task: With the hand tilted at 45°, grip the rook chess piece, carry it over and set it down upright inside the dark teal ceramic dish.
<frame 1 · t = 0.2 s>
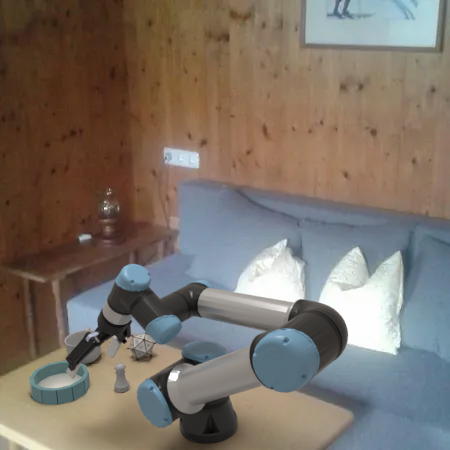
hand: (90, 364, 176), 15 cm above the table, tool tilted 35°, fingers open, 13 cm apart
rook chess piece: (121, 389, 192), on the table
dish: (60, 388, 193), on the table
teacup: (86, 357, 211), on the table
game die: (142, 357, 210), on the table
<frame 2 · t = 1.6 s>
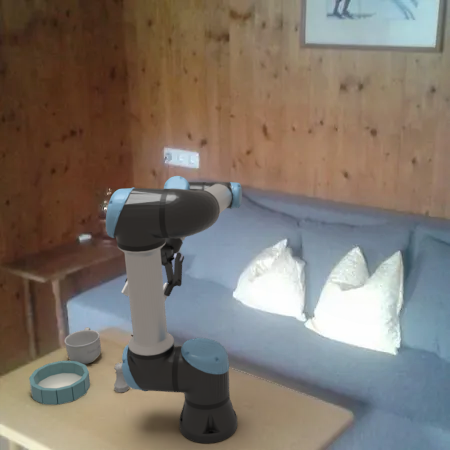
hand: (141, 299, 193), 24 cm above the table, tool tilted 45°, fingers open, 13 cm apart
nothing on the table moved.
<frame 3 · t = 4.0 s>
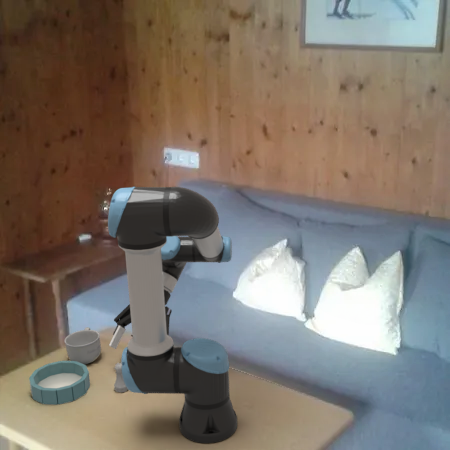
hand: (128, 353, 193), 9 cm above the table, tool tilted 45°, fingers open, 13 cm apart
nothing on the table moved.
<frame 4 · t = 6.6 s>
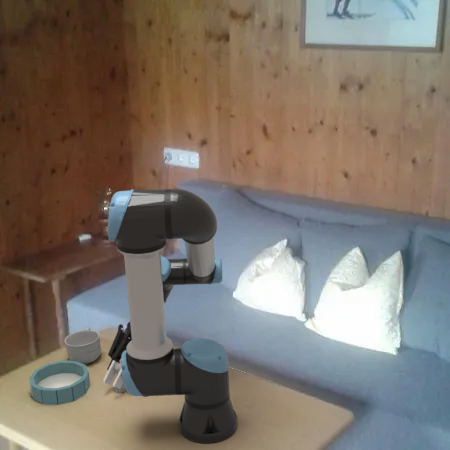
hand: (111, 385, 188), 3 cm above the table, tool tilted 45°, fingers closed on rook chess piece, 3 cm apart
rook chess piece: (121, 389, 192), on the table, touching gripper
everything else where it was.
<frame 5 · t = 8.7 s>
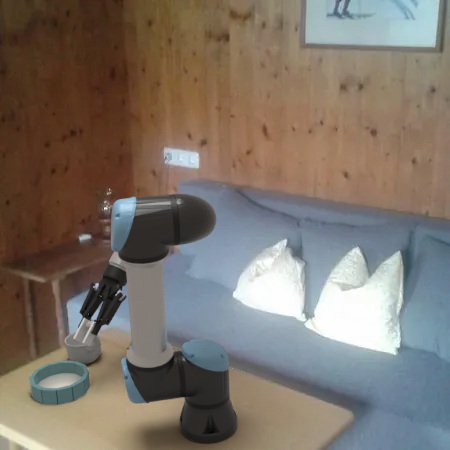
hand: (81, 342, 188), 15 cm above the table, tool tilted 45°, fingers closed on rook chess piece, 3 cm apart
rook chess piece: (93, 347, 192), point 12 cm above the table, touching gripper
everything else where it was.
when the fingers open (6 cm above the table, at t = 11.3 s): rook chess piece drops 1 cm, resting on dish.
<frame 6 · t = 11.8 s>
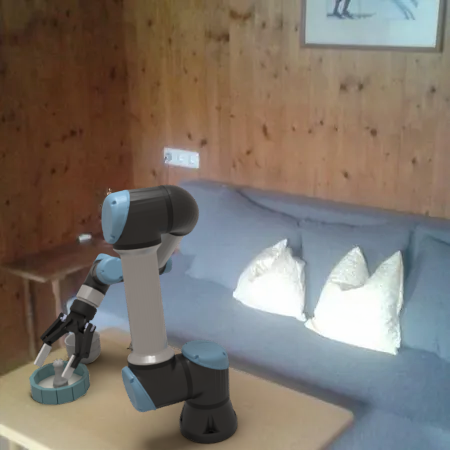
hand: (50, 371, 189), 7 cm above the table, tool tilted 45°, fingers open, 11 cm apart
rook chess piece: (60, 386, 193), point 1 cm above the table, touching dish
everything else where it was.
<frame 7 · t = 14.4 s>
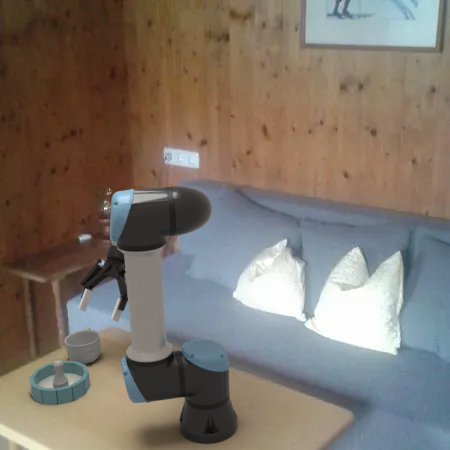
hand: (97, 315, 196), 19 cm above the table, tool tilted 35°, fingers open, 13 cm apart
nothing on the table moved.
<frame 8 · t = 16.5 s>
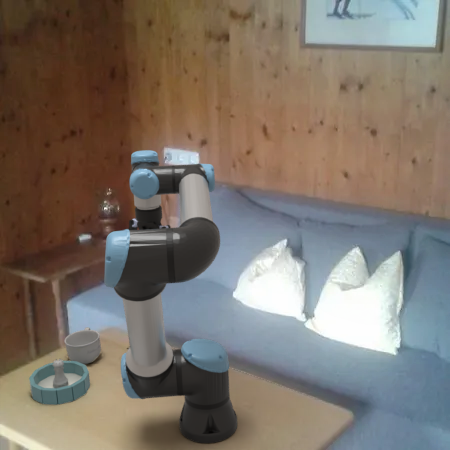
hand: (153, 276, 192), 31 cm above the table, tool pointing down, fingers open, 13 cm apart
nothing on the table moved.
at the end: rook chess piece inside the target area on the dish (0.1 cm from its centre), point 0.8 cm above the dish's base; rook chess piece tilted 0°; the gripper is holding nothing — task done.
